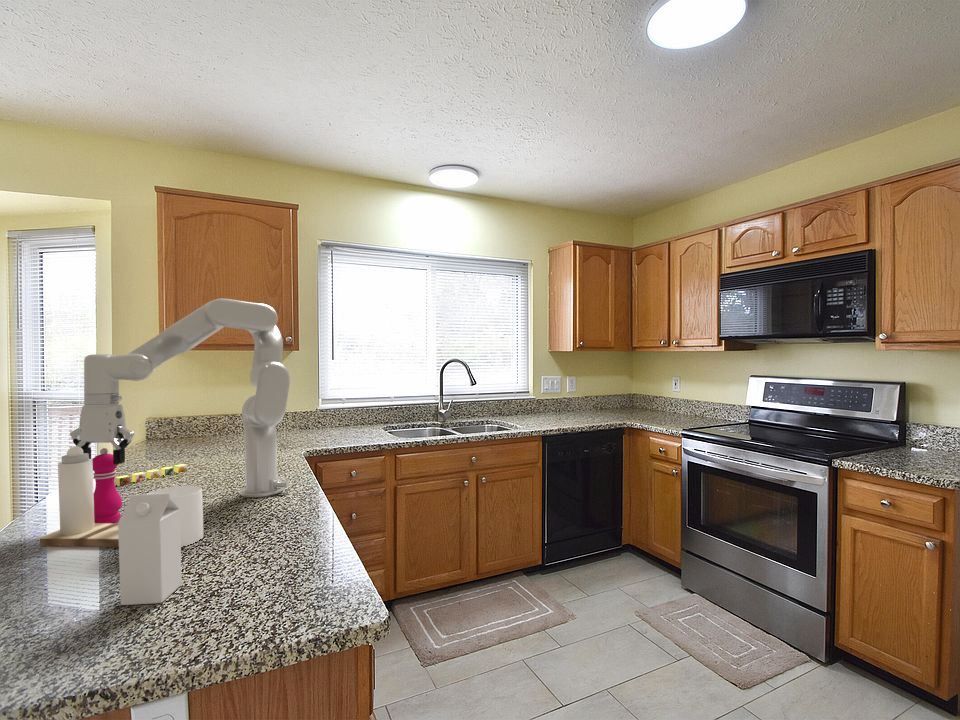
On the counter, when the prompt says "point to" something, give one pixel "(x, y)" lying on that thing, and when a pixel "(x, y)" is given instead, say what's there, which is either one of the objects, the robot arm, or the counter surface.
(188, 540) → the cup
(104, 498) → the pepper mill
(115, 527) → the wooden divided tray
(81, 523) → the salt mill
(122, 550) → the milk carton
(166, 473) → the stock cubes
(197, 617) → the counter surface
